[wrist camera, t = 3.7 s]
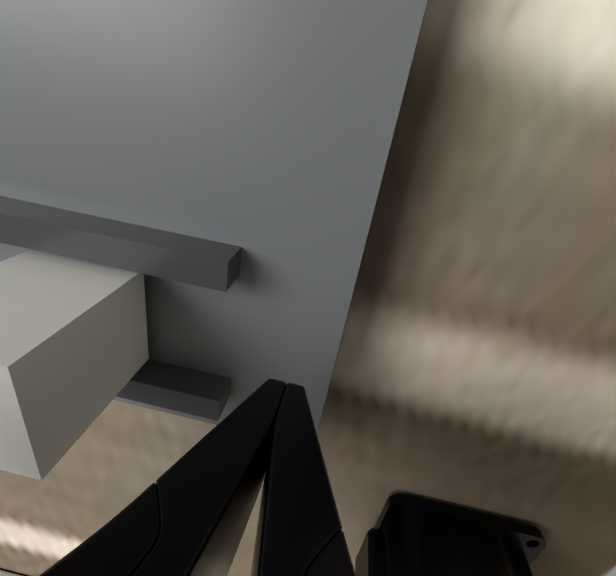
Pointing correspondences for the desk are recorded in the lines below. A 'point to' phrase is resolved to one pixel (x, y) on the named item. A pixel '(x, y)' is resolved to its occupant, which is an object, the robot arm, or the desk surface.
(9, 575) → the light bulb box
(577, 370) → the desk surface
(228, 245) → the switch board
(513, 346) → the desk surface
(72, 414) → the tab
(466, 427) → the desk surface
